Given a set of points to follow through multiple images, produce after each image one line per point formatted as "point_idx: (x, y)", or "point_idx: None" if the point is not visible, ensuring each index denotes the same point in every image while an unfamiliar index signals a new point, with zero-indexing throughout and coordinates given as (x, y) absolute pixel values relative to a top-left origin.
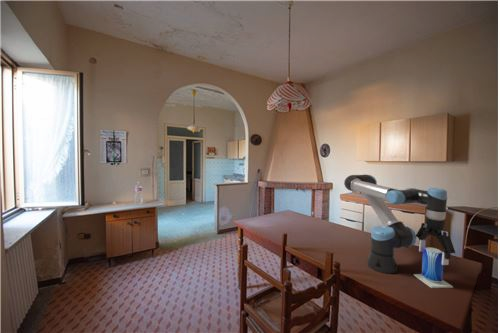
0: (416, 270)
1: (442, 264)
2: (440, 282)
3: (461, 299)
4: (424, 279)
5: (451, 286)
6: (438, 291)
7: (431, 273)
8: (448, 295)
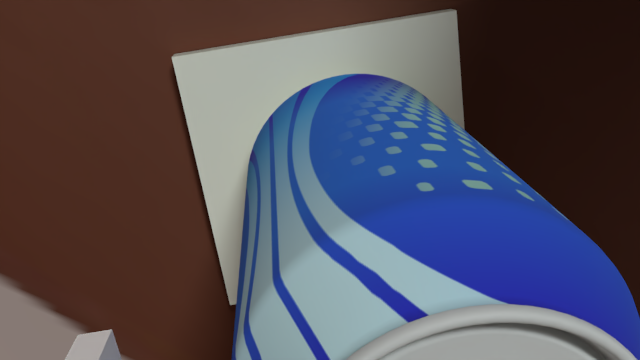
0: (572, 122)
1: (87, 334)
2: None
3: (17, 242)
4: (332, 72)
5: (226, 289)
6: (118, 95)
7: (268, 146)
8: (60, 157)
